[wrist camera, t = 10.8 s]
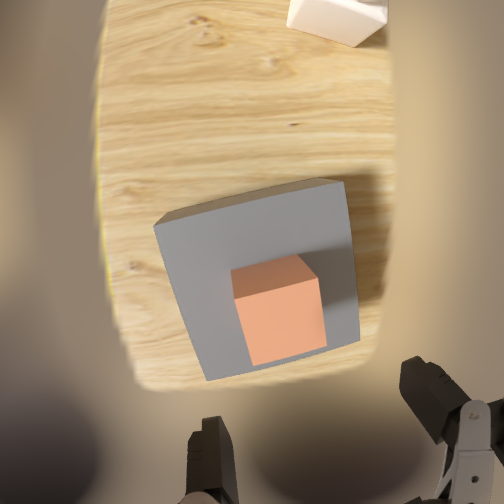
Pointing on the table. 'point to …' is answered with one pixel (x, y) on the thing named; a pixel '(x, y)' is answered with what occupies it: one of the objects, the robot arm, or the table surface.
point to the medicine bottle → (338, 18)
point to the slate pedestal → (253, 252)
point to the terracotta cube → (279, 308)
